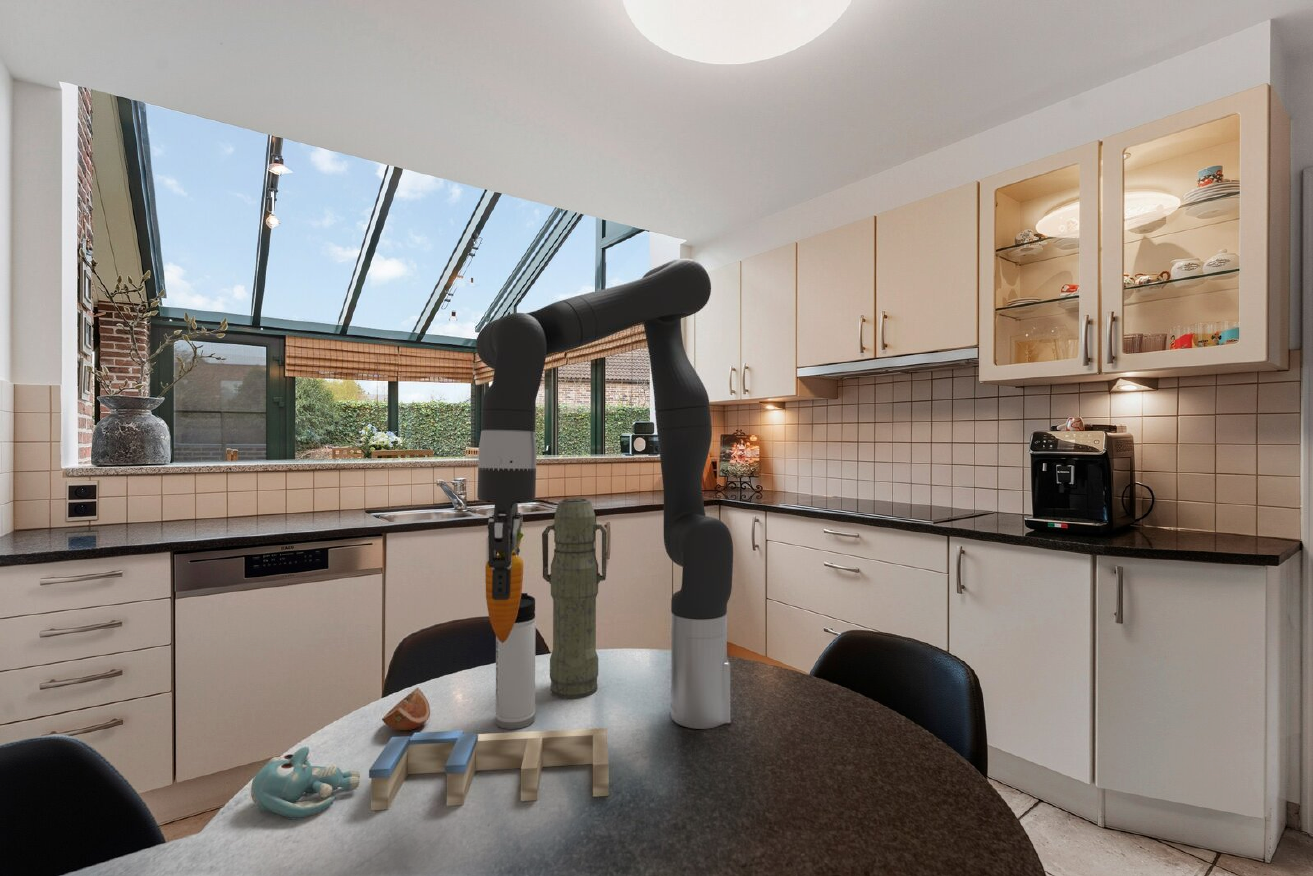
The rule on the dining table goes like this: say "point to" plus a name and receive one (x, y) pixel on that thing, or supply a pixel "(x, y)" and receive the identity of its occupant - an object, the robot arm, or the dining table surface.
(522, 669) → the travel mug
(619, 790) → the dining table surface
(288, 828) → the dining table surface
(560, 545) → the thermos
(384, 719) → the fruit slice
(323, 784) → the stuffed animal
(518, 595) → the carrot
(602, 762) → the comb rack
